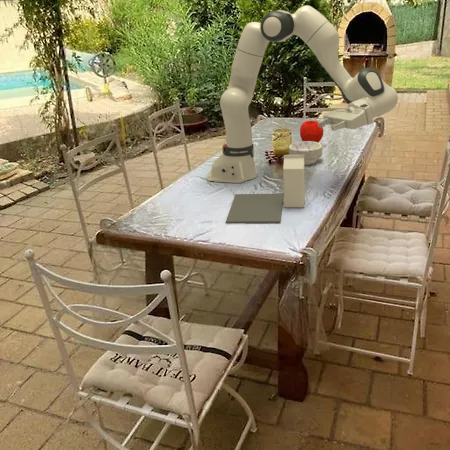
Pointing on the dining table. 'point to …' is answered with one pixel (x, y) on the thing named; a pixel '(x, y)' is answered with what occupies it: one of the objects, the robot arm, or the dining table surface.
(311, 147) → the paper bowls
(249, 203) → the mat
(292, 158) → the milk carton
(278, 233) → the dining table surface
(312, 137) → the apple
